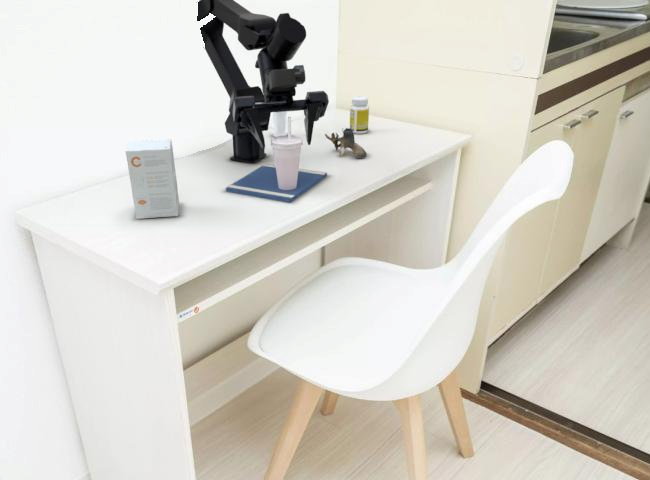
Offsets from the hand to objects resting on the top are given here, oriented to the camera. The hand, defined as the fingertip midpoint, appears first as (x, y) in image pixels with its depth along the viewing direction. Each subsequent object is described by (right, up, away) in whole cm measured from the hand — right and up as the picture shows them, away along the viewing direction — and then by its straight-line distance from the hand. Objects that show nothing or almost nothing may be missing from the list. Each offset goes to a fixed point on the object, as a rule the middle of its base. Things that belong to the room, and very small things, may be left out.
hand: (286, 145), depth 128 cm
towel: (-2, -5, +9) cm, 11 cm away
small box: (-25, -14, -3) cm, 29 cm away
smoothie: (0, -7, +5) cm, 9 cm away
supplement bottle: (+19, +15, +41) cm, 48 cm away
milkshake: (-1, +14, +39) cm, 41 cm away
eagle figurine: (+15, +5, +25) cm, 29 cm away
